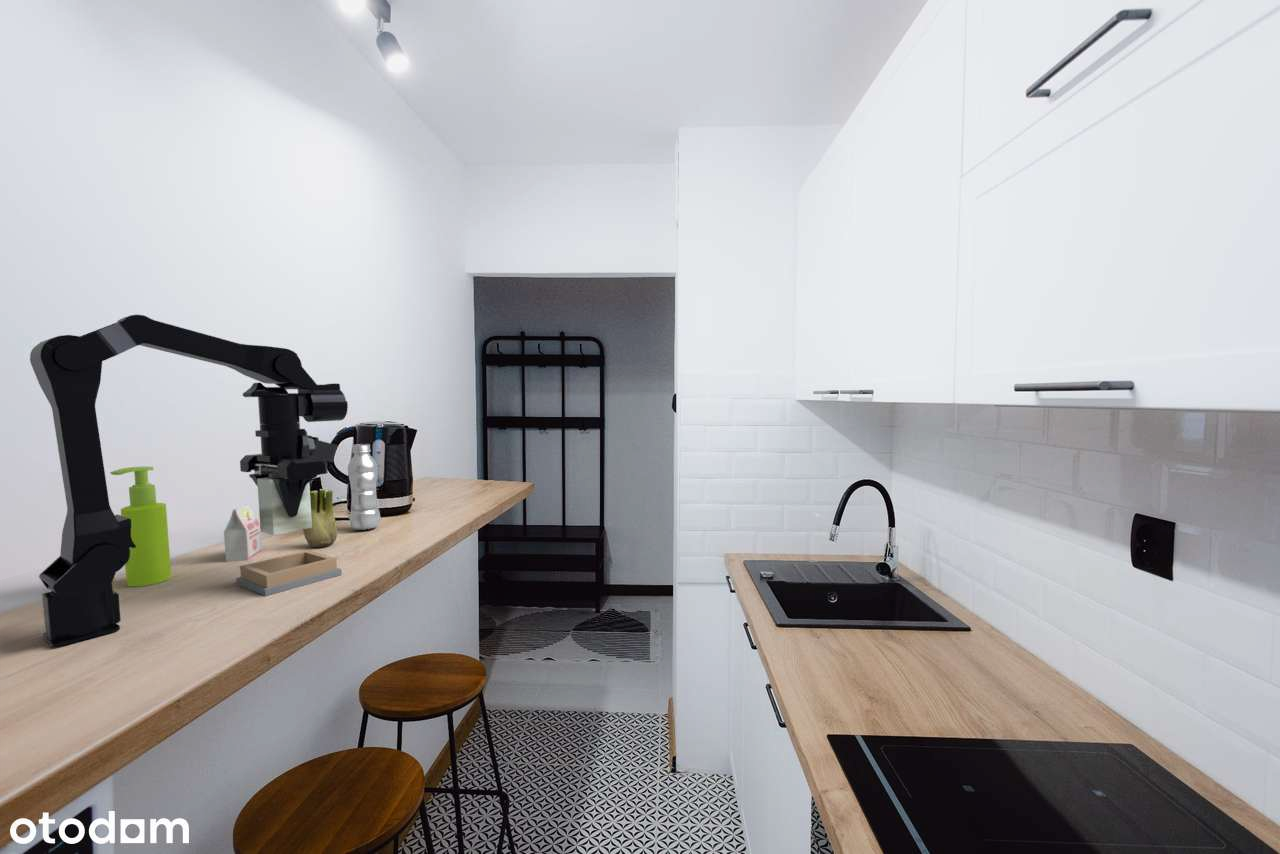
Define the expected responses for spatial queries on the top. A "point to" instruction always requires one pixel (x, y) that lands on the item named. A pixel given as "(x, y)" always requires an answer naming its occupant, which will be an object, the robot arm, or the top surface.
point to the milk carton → (242, 535)
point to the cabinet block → (281, 509)
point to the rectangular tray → (287, 572)
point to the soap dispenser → (146, 532)
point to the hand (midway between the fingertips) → (285, 514)
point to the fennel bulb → (321, 520)
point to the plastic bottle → (363, 489)
